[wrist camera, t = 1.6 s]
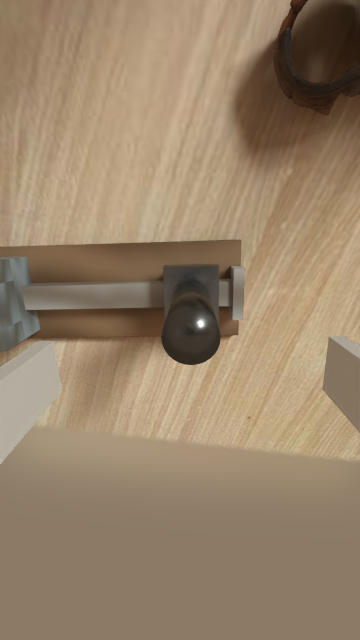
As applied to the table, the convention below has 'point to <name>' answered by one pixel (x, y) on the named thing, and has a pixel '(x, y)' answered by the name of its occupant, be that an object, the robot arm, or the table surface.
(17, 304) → the rail base
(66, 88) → the table surface
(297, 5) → the broken pottery
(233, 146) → the table surface
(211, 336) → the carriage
